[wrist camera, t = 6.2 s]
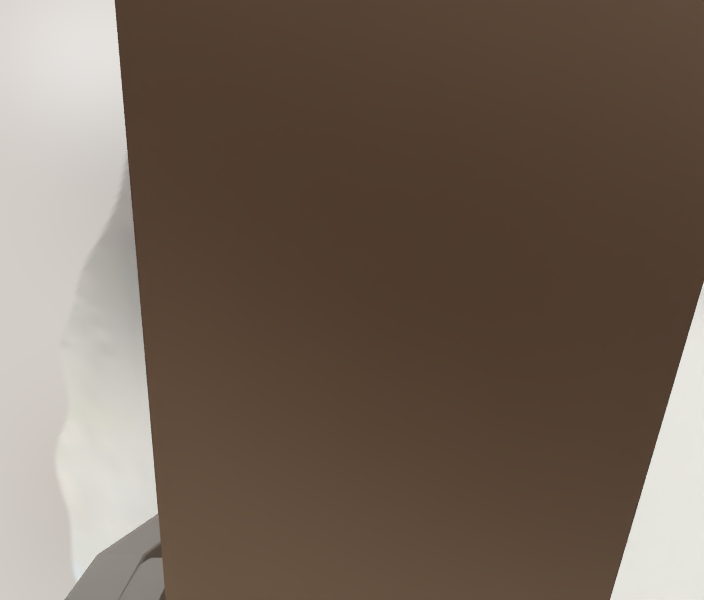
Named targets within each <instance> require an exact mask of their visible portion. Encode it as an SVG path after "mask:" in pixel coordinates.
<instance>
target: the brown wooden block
mask: <svg viewBox="0 0 704 600" xmlns="http://www.w3.org/2000/svg"><path fill="white" fill-rule="evenodd" d="M115 8H116V20H117V32H118V43H119V55H120V67H121V79H122V91H123V102H124V114H125V126H126V138H127V150H128V162H129V173H130V185H131V197H132V209H133V221H134V232H135V244H136V256H137V268H138V280H139V291H140V303H141V315H142V327H143V339H144V350H145V362H146V374H147V386H148V398H149V409H150V421H151V433H152V445H153V457H154V468H155V480H156V492H157V504H158V515H159V527H160V539H161V551H162V563H163V574H164V586H165V598H166V600H610V597H611V594H612V591H613V587H614V584H615V580H616V577H617V574H618V570H619V567H620V563H621V560H622V557H623V553H624V550H625V546H626V543H627V540H628V536H629V533H630V529H631V526H632V523H633V519H634V516H635V512H636V509H637V506H638V502H639V499H640V496H641V492H642V489H643V485H644V482H645V479H646V475H647V472H648V468H649V465H650V462H651V458H652V455H653V451H654V448H655V445H656V441H657V438H658V434H659V431H660V428H661V424H662V421H663V417H664V414H665V411H666V407H667V404H668V400H669V397H670V394H671V390H672V387H673V384H674V380H675V377H676V373H677V370H678V367H679V363H680V360H681V356H682V353H683V350H684V346H685V343H686V339H687V336H688V333H689V329H690V326H691V322H692V319H693V316H694V312H695V309H696V305H697V302H698V299H699V295H700V292H701V288H702V285H703V282H704V0H115Z"/></svg>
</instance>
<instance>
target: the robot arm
mask: <svg viewBox="0 0 704 600" xmlns="http://www.w3.org/2000/svg"><path fill="white" fill-rule="evenodd" d="M65 600H166V598H165V586H164V574H163V563H162V551H161V539H160V527H159V515H158V514H157V515H156V516H154V517H153V518H151V519H150V520H148V521H147V522H145V523H144V524H142V525H141V526H139V527H138V528H136V529H135V530H133V531H132V532H130V533H129V534H128V535H126V536H125V537H123V538H122V539H120V540H119V541H117V542H116V543H114V544H113V545H111V546H110V547H108V548H107V549H105V550H104V551H102V552H101V553H99V554H98V555H97V556H96V557H95V559H94V560H93V562H92V563H91V564H90V566H89V567H88V568H87V570H86V571H85V573H84V574H83V575H82V577H81V578H80V579H79V581H78V582H77V583H76V585H75V586H74V588H73V589H72V591H71V592H70V593H69V594H68V596H67V597H66V599H65Z"/></svg>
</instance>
